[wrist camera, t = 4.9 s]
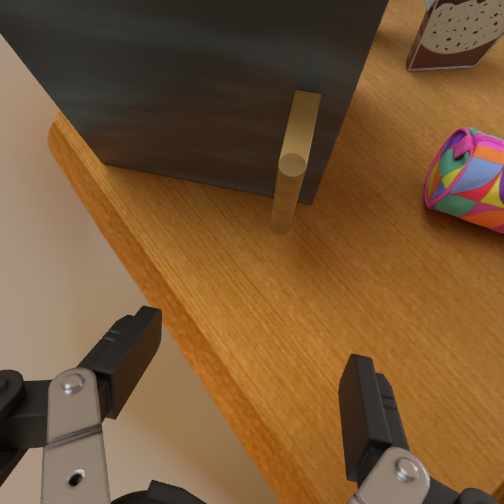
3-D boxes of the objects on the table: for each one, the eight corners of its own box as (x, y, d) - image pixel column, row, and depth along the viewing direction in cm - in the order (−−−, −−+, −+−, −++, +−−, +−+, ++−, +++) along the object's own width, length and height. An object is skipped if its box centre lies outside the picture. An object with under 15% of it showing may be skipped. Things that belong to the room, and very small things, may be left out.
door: (301, 260, 35) (388, 80, 12) (79, 213, 37) (-199, -18, 14) (313, 197, 37) (404, -50, 15) (104, 156, 39) (-99, -118, 17)
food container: (472, 34, 45) (530, -52, 36) (485, 66, 43) (550, -15, 34) (387, 38, 45) (422, -46, 36) (396, 71, 43) (436, -9, 34)
